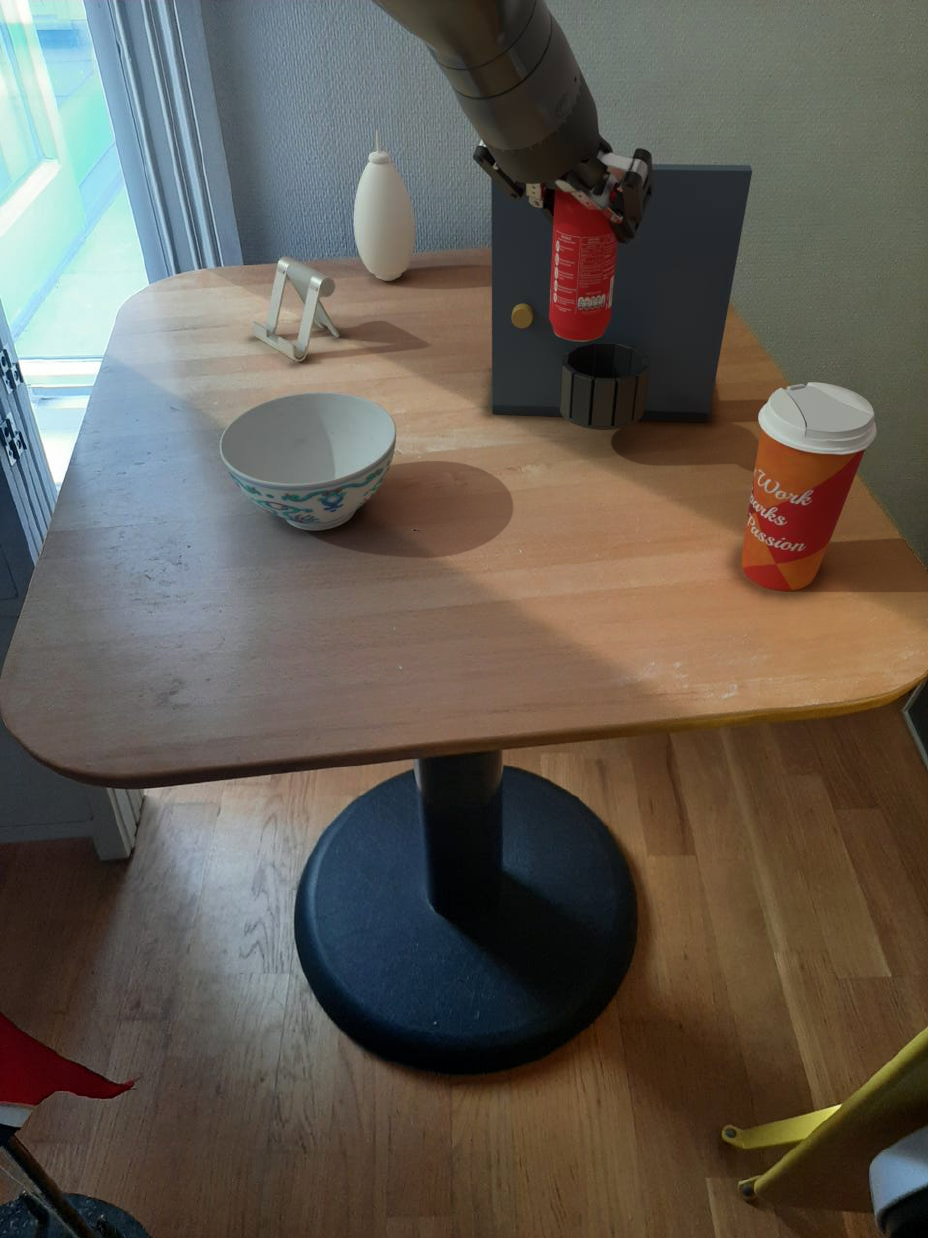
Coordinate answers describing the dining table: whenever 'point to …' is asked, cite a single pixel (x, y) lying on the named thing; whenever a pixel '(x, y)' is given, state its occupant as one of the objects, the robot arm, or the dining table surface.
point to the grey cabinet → (622, 307)
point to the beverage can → (581, 269)
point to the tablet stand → (310, 291)
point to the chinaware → (310, 456)
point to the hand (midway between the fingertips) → (595, 225)
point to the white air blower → (383, 218)
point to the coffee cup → (802, 480)
